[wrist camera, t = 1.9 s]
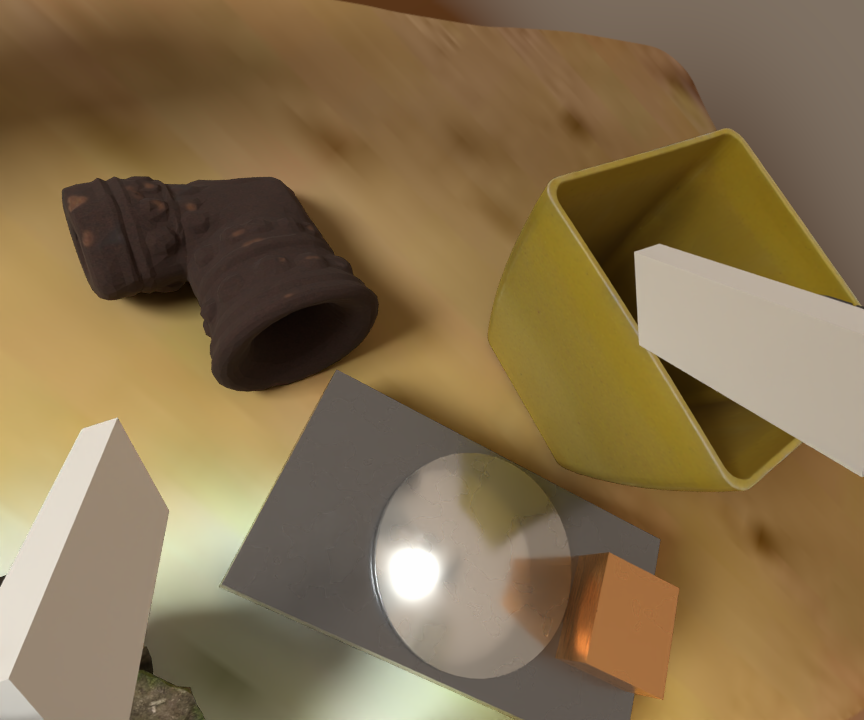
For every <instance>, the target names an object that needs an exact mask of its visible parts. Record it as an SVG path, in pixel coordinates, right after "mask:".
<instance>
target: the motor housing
mask: <svg viewBox="0 0 864 720" xmlns="http://www.w3.org/2000/svg"><path fill="white" fill-rule="evenodd" d="M659 545H660V539H658V538H656V537H655V536H653V535H651V534H649V533H647V532H645V531H643V530H641V529H639V528H637V527H635V526H634V525H632V524H630V523H628V522H626V521H624V520H622V519H620V518H618V517H616V516H615V515H613V514H611V513H609V512H607V511H605V510H603V509H601V508H599V507H597V506H595V505H594V504H592V503H590V502H588V501H586V500H584V499H582V498H580V497H578V496H576V495H575V494H573V493H571V492H569V491H567V490H565V489H563V488H561V487H559V486H557V485H556V484H554V483H552V482H550V481H548V480H546V479H544V478H542V477H540V476H538V475H536V474H535V473H533V472H531V471H529V470H527V469H525V468H523V467H521V466H519V465H517V464H516V463H514V462H512V461H510V460H508V459H506V458H504V457H502V456H500V455H498V454H497V453H495V452H493V451H491V450H489V449H487V448H485V447H483V446H481V445H479V444H477V443H476V442H474V441H472V440H470V439H468V438H466V437H464V436H462V435H460V434H458V433H457V432H455V431H453V430H451V429H449V428H447V427H445V426H443V425H441V424H439V423H437V422H436V421H434V420H432V419H430V418H428V417H426V416H424V415H422V414H420V413H418V412H417V411H415V410H413V409H411V408H409V407H407V406H405V405H403V404H401V403H399V402H398V401H396V400H394V399H392V398H390V397H388V396H386V395H384V394H382V393H380V392H378V391H377V390H375V389H373V388H371V387H369V386H367V385H365V384H363V383H361V382H359V381H358V380H356V379H354V378H352V377H350V376H348V375H346V374H344V373H342V372H340V371H338V370H336V372H335V373H334V375H333V377H332V379H331V380H330V382H329V384H328V386H327V387H326V389H325V391H324V393H323V394H322V396H321V398H320V400H319V401H318V403H317V405H316V407H315V409H314V411H313V413H312V414H311V416H310V418H309V420H308V422H307V424H306V426H305V427H304V429H303V431H302V433H301V435H300V437H299V439H298V440H297V442H296V444H295V446H294V448H293V450H292V452H291V454H290V455H289V457H288V459H287V461H286V463H285V465H284V467H283V468H282V470H281V472H280V474H279V476H278V478H277V480H276V481H275V483H274V485H273V487H272V489H271V491H270V493H269V494H268V496H267V498H266V500H265V502H264V504H263V506H262V507H261V509H260V511H259V513H258V515H257V517H256V519H255V521H254V522H253V524H252V526H251V528H250V530H249V532H248V534H247V535H246V537H245V539H244V541H243V543H242V545H241V547H240V548H239V550H238V552H237V554H236V556H235V558H234V560H233V561H232V563H231V565H230V567H229V569H228V571H227V573H226V574H225V576H224V578H223V580H222V582H221V584H220V586H219V587H220V588H223V589H225V590H227V591H229V592H231V593H234V594H236V595H238V596H240V597H243V598H245V599H247V600H249V601H252V602H254V603H256V604H258V605H261V606H263V607H265V608H267V609H270V610H272V611H274V612H276V613H278V614H281V615H283V616H285V617H287V618H290V619H292V620H294V621H296V622H299V623H301V624H303V625H305V626H308V627H310V628H312V629H314V630H316V631H319V632H321V633H323V634H325V635H328V636H330V637H332V638H334V639H337V640H339V641H341V642H343V643H346V644H348V645H350V646H352V647H355V648H357V649H359V650H361V651H363V652H366V653H368V654H370V655H372V656H375V657H377V658H379V659H381V660H384V661H386V662H388V663H390V664H393V665H395V666H397V667H399V668H401V669H404V670H406V671H408V672H410V673H413V674H415V675H417V676H419V677H422V678H424V679H426V680H428V681H431V682H433V683H435V684H437V685H440V686H442V687H444V688H446V689H448V690H451V691H453V692H455V693H457V694H460V695H462V696H464V697H466V698H469V699H471V700H473V701H475V702H478V703H480V704H482V705H484V706H486V707H489V708H491V709H493V710H495V711H498V712H500V713H502V714H504V715H507V716H509V717H511V718H513V719H516V720H630V717H631V711H632V705H633V699H634V694H639V695H644V696H648V697H653V698H658V699H662V700H663V697H664V690H665V683H666V676H667V669H668V663H669V656H670V649H671V642H672V635H673V628H674V622H675V615H676V608H677V601H678V594H679V588H678V587H676V586H674V585H672V584H670V583H668V582H666V581H664V580H662V579H660V578H658V577H657V576H655V569H656V563H657V557H658V551H659Z"/></svg>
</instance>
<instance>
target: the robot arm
mask: <svg viewBox="0 0 864 720" xmlns="http://www.w3.org/2000/svg"><path fill="white" fill-rule="evenodd" d="M634 259H635V277H636V296H637V315H638V334H639V345H640V346H642V347H643V348H645V349H647V350H649V351H650V352H652V353H654V354H655V355H657V356H659V357H660V358H662V359H664V360H665V361H667V362H669V363H670V364H672V365H674V366H675V367H677V368H679V369H681V370H682V371H684V372H686V373H687V374H689V375H691V376H692V377H694V378H696V379H697V380H699V381H701V382H702V383H704V384H706V385H707V386H709V387H711V388H713V389H714V390H716V391H718V392H719V393H721V394H723V395H724V396H726V397H728V398H729V399H731V400H733V401H734V402H736V403H738V404H739V405H741V406H743V407H745V408H746V409H748V410H750V411H751V412H753V413H755V414H756V415H758V416H760V417H761V418H763V419H765V420H766V421H768V422H770V423H771V424H773V425H775V426H777V427H778V428H780V429H782V430H783V431H785V432H787V433H788V434H790V435H792V436H793V437H795V438H797V439H798V440H800V441H802V442H803V443H805V444H807V445H809V446H810V447H812V448H814V449H815V450H817V451H819V452H820V453H822V454H824V455H825V456H827V457H829V458H830V459H832V460H834V461H835V462H837V463H839V464H841V465H842V466H844V467H846V468H847V469H849V470H851V471H852V472H854V473H856V474H857V475H859V476H861V477H863V476H864V307H863V306H859V305H856V306H853V303H850V302H847V301H844V300H840V299H837V298H834V297H831V296H827V295H820V294H815V293H812V292H809V291H806V290H803V289H799V288H796V287H793V286H790V285H787V284H784V283H781V282H778V281H774V280H771V279H768V278H765V277H762V276H759V275H756V274H753V273H749V272H746V271H743V270H740V269H737V268H734V267H731V266H728V265H724V264H721V263H718V262H715V261H712V260H709V259H706V258H703V257H699V256H696V255H693V254H690V253H687V252H684V251H681V250H678V249H674V248H671V247H668V246H665V245H662V244H657V245H654V246H651V247H648V248H645V249H642V250H639V251H635V252H634ZM168 514H169V509H168V508H167V506H166V504H165V502H164V500H163V499H162V497H161V495H160V493H159V491H158V490H157V488H156V486H155V484H154V482H153V481H152V479H151V477H150V475H149V473H148V472H147V470H146V468H145V466H144V464H143V463H142V461H141V459H140V457H139V455H138V454H137V452H136V450H135V448H134V446H133V445H132V443H131V441H130V439H129V437H128V435H127V434H126V432H125V430H124V428H123V426H122V425H121V423H120V421H119V419H118V418H115V419H112V420H108V421H105V422H102V423H99V424H96V425H93V426H90V427H87V428H83V429H82V430H81V431H80V433H79V435H78V437H77V439H76V441H75V443H74V445H73V447H72V449H71V451H70V453H69V455H68V457H67V459H66V461H65V463H64V464H63V466H62V468H61V470H60V472H59V474H58V476H57V478H56V480H55V482H54V484H53V486H52V488H51V490H50V492H49V494H48V496H47V497H46V499H45V501H44V503H43V505H42V507H41V509H40V511H39V513H38V515H37V517H36V519H35V521H34V523H33V525H32V527H31V528H30V530H29V532H28V534H27V536H26V538H25V540H24V542H23V544H22V546H21V548H20V550H19V552H18V554H17V556H16V558H15V560H14V561H13V563H12V565H11V567H10V569H9V571H8V573H7V575H5V576H2V577H0V720H129V718H130V713H131V708H132V703H133V697H134V692H135V687H136V682H137V677H138V671H139V666H140V661H141V656H142V650H143V645H144V640H145V635H146V629H147V624H148V619H149V614H150V609H151V603H152V598H153V593H154V588H155V582H156V577H157V572H158V567H159V561H160V556H161V551H162V546H163V540H164V535H165V530H166V525H167V520H168Z"/></svg>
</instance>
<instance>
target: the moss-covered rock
mask: <svg viewBox="0 0 864 720" xmlns="http://www.w3.org/2000/svg"><path fill="white" fill-rule="evenodd" d="M129 720H205V718H204V716H203V713H202V712H201V711H200V709H199V707H198V706H197V704H196V701H195V699H194V697H193V694H192V691H191V688H190V687H179V686H175V685H173V684H171V683H169V682H167V681H165V680H163V679H161V678H159V677H157V676H155V675H153V667H152V659H151V656H150V654H149V651H148V649H147V647H144V645H143V650H142V656H141V661H140V666H139V671H138V677H137V682H136V687H135V692H134V697H133V703H132V708H131V713H130V718H129Z"/></svg>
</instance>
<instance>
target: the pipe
mask: <svg viewBox="0 0 864 720" xmlns="http://www.w3.org/2000/svg"><path fill="white" fill-rule="evenodd" d="M62 202H63V208H64V212H65V216H66V220H67V223H68V227H69V230H70V234H71V237H72V240H73V243H74V246H75V249H76V252H77V254H78V257H79V260H80V263H81V265H82V268H83V270H84V273H85V276H86V278H87V281H88V282H89V284H90V286H91V288H92V290H93V291H94V292H95V293H96V294H97V295H98V296H99V297H100V298H103V299H106V300H117V299H120V298H124V297H130V296H135V295H136V294H137V293H139V292H142V293H148V294H150V293H152V292H154V291H157V292H162V293H164V292H171V291H176V290H179V289H180V288H181V287H182V286H183V285H184V284H185V283H186V281H188V282H190V285H191V287H192V290H193V292H194V295H195V296H196V297H197V299H198V302H199V305H200V307H201V313H200V315H201V316H202V317H203V319H204V322H203V327H204V330H205V333H206V335H207V336H209V337H211V339H212V340H211V344H210V355H211V358H212V368H211V370H212V373H213V375H214V377H215V378H216V380H217V381H218V382H219V384H221V385H223V386H225V387H227V388H230V389H233V390H236V391H246V392H249V391H260V390H264V389H267V388H269V387H272V386H274V385H285V384H289V383H292V382H295V381H298V380H301V379H303V378H306V377H308V376H310V375H313V374H315V373H317V372H319V371H321V370H323V369H325V368H327V367H328V366H330V365H332V364H333V363H335V362H337V361H339V360H340V359H342V358H343V357H345V356H346V355H347V354H349V353H350V352H351V351H352V350H353V349H355V348H356V347H357V346H358V345H359V344H360V343H361V342H362V341H363V340H364V339H365V337H366V336H367V334H368V333H369V331H370V330H371V328H372V327H373V324H374V322H375V319H376V317H377V314H378V305H379V304H378V299H377V296H376V295H375V294H374V293H373V292H372V291H371V290H370V289H368V288H367V287H366V286H365V284H364V283H363V282H362V281H361V280H360V279H358V278H357V277H355V276H353V272H352V268H351V265H350V264H349V263H348V262H347V261H346V260H345V259H343V258H342V257H339V256H335V255H334V252H333V251H332V249H331V248H330V247H329V245H328V243H327V242H326V241H325V240H324V238H323V237H322V235H321V233H320V231H319V230H318V229H317V227H316V226H315V225H314V223H313V222H312V221H311V219H310V218H309V216H308V215H307V213H306V212H305V210H304V208H303V207H302V205H301V204H300V202H299V201H298V199H297V197H296V196H295V194H294V192H293V191H292V190H291V189H290V188H288V187H287V186H286V185H285V184H284V183H283V182H282V181H281V180H278V179H276V178H273V177H252V178H238V179H231V180H197V181H193V182H190V183H188V184H180V185H179V184H164V183H162V182H161V181H159V180H153V179H151V178H150V177H138V176H135V177H130V178H128V179H119V178H117V177H113V178H111V179H109V180H107V181H104V180H101V179H99V178H96V179H95V180H94V181H92V182H89V183H83V184H76V185H73V186H70V187H67V188H64V189H63V190H62Z"/></svg>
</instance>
